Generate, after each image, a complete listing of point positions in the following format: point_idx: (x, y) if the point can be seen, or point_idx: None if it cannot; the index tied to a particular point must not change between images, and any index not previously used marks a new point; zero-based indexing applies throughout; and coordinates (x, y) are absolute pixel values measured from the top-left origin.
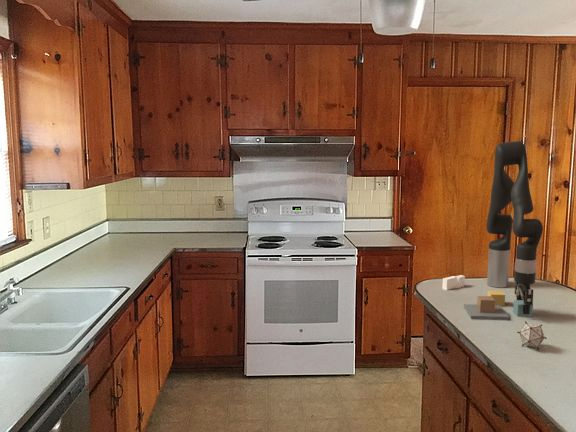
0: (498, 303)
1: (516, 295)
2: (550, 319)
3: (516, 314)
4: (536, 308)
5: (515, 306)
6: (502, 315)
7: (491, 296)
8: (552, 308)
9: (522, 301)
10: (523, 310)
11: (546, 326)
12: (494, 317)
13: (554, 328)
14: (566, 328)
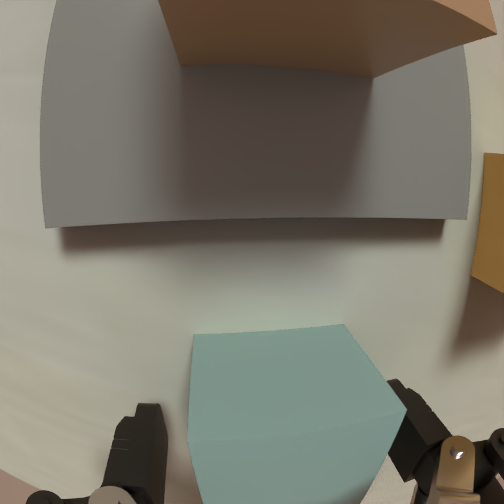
0: (497, 227)
1: (457, 454)
2: (179, 492)
3: (228, 339)
4: (387, 456)
5: (298, 384)
6: (85, 151)
7: (477, 13)
8: (369, 498)
9: (330, 481)
10: (139, 427)
11: (37, 438)
12: (50, 56)
13: (29, 454)
14: (60, 490)
